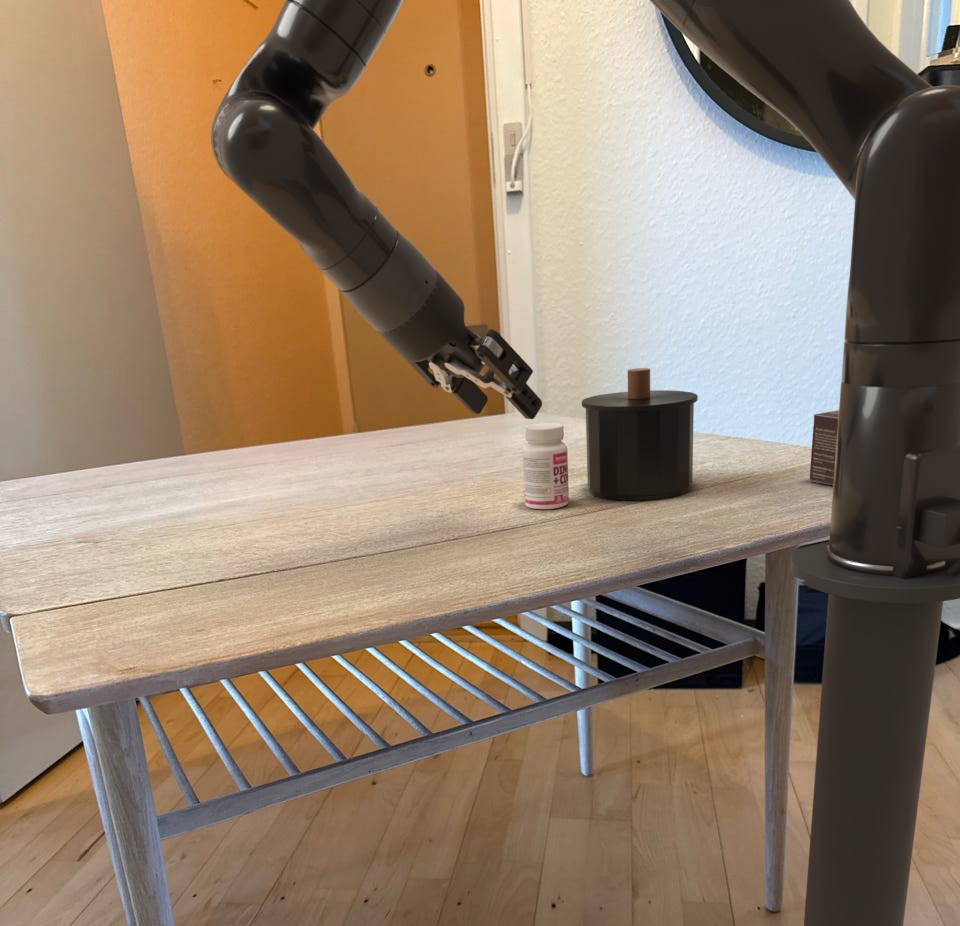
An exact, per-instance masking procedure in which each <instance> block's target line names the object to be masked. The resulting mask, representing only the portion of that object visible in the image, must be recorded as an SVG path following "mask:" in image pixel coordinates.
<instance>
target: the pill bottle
mask: <svg viewBox="0 0 960 926" xmlns="http://www.w3.org/2000/svg"><path fill="white" fill-rule="evenodd" d="M524 428H525V430H524V431H525V436H524V437H525V442H527V443H526V444H525V445H524V446H523V448H522V463H523V465H522V466H523V484H524V504H525V506H526V507H528V508H530V509H535V510H552V509H553V510H554V509H559V508H563V507H565V506H567V505H568V504H569V501H570V500H569V499H570V497H569V496H570V495H569V494H570V492H569V491H570V490H569V457H568V455H569V453H568V446H567V444H566V443H565V442H563V440H564V437H565V431H564V425H563V424H562V423H557V422H556V423H555V422H554V423H553V422H548V423H547V422H546V423H535V424H529V425H527V426H525V427H524Z"/></svg>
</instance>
